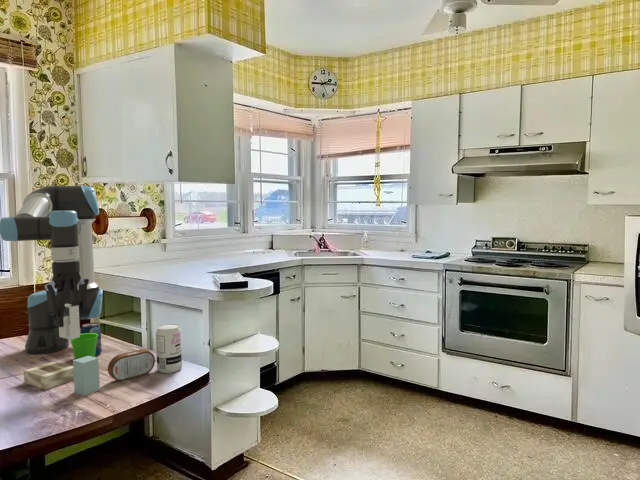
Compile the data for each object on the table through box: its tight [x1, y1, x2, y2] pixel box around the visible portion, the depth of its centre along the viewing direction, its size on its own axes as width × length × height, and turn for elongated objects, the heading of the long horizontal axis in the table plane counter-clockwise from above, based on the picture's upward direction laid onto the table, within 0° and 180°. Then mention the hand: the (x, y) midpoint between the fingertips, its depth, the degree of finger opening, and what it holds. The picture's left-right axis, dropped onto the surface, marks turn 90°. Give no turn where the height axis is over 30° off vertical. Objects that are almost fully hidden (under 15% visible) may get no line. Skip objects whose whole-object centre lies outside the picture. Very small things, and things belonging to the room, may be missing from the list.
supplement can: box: [155, 323, 183, 374], centre depth 159 cm, size 8×8×15 cm
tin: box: [107, 348, 156, 382], centre depth 153 cm, size 15×3×8 cm, turn 136°
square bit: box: [72, 356, 101, 396], centre depth 141 cm, size 5×5×10 cm
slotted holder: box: [23, 360, 74, 390], centre depth 150 cm, size 10×12×4 cm
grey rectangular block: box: [59, 304, 81, 340], centre depth 144 cm, size 3×6×10 cm, turn 60°
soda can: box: [80, 322, 102, 358], centre depth 175 cm, size 7×7×12 cm
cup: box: [69, 333, 99, 360], centre depth 163 cm, size 9×9×11 cm
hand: (69, 335), depth 144 cm, fingers closed on grey rectangular block, 3 cm apart
